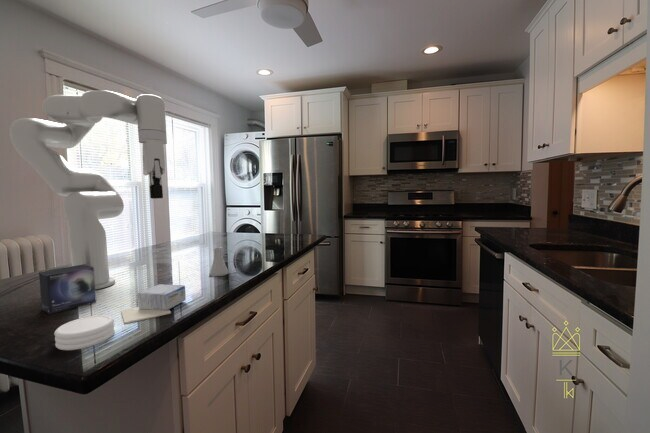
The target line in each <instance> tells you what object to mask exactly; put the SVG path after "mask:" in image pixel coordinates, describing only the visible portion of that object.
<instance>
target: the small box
mask: <svg viewBox="0 0 650 433" xmlns="http://www.w3.org/2000/svg"><path fill="white" fill-rule="evenodd" d="M38 276H39V290H40V305H41V307H40V309H41V310H42V311H43V312H45V313H47V314H49V315H52V314H56V313H60V312H64V311H68V310H71V309H75V308H79V307H82V306H87V305H90V304H94V303H96V302H97V299H96V290H95V282H94V267H91V266H88V265H85V264H83V265H77V266H72V265H71V266H66V267H61V268H55V269H49V270H43V271H39V272H38Z"/></svg>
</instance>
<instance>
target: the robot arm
mask: <svg viewBox="0 0 650 433" xmlns="http://www.w3.org/2000/svg"><path fill="white" fill-rule="evenodd" d="M41 106H42V110H43V112H44V113H45V115H46V116H47V117H48V118H50V119H52V120H53V121H50V120H44V119H40V118H34V117H33V118H32V117H31V118H30V117H26V118H23V117H22V118H19V119H15V120H14V121H12V123H11V126H10V127H9V137H10V141H11V143H12V145H13V148H14V149H15V151H16V152H17V153H18V155H20V157H21V158H23V160H25V161H26V162H27V163H28V164H29V165H30V166H31V167H32V168H33V169H34V170H35V171H36V173H37V174H38V175H39V176H40V178H41V179H42V180H43V181H44V182H45V183H46V185H47V186H48V187H49V188H50V189H51V190H52V191H53V192H54V193H55V194H56V195H58V196H61V197H65V198H63V201H62V210H63V213H64V214H63V215H64V217H65V220H66V222H67V227H68V233H69V234H68V235H69V243H70V244H69V245H70V255H71V256H70V257H71V266H77V265H83V264H85V265H88V266H91V267H94V282H95V291H96V290H99V289H103V288H108V287H110V286H113V285H114V284H115V283H116V279H115V278H113V277H110V270H109V268H110V267H109V257H108V243H107V234H106V230H105V228H104V226H103V224H102V223H101V222H100V220H103V219H105V220H106V219H111V218H117V217H118V216H120V215H122V213H123V211H124V208H125V207H124V206H125V205H124V200H123V198H122V196H121V195H120V194H119V192H118V191H117V190H116V188H114V187H113V186H112V185H111V183H110V182H109V181H108V180H107V179H106V178H105V177H104V176H103V175H102V174H101V173H100V172H98V171H96V170H94V169H88V168H77V167H74V166H72V165H71V164H70V163H69V162H68V161H67V160H66V159H65V158H64V157H63V156H62V155H61V154H60V153H58V152H57V151H55V150H54V149H52V148H57V149H66V150H67V149H72V148H74V147H76V146H77V145H78V144H80V143H81V141H82V140H83V139H84V138H85V136H86V135H87V134H88V133H89V132H90V131H91V130H92V129H93V127H94V126H96V124H97V123H99V122H101V121H102V119H103V118H109V119H113V120H117V121H120V122H125V123H129V124H131V125H137V131H138V134H137V135H138V143H139V144H142V174H143V176H144V177H145V176H148V177H149V195H150V199H152V200H153V199H155V200H156V199H163V197H164V194H163V191H164V190H163V185H162V184H163V183H162V175H164V174H165V173H166V169H165V166H166V164H165V148H164V145H167V144H168V142H167V141H168V140H167V139H168V138H167V124H166V123H167V122H166V121H167V120H166V110H165V109H166V106H165V101H164V99H163V98H162V97H160V96H158V95H155V94H147V93H146V94H139V95H138V96H137V97H136V98H133V97H129V96H128V95H124V94H122V93H119V92H115V91H112V90H86V91H85V92H84V93H82V94H55V95H50V96H47V97H46V98H45V99H44V100H43V101H42V105H41ZM54 121H56V122H54Z"/></svg>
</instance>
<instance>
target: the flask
mask: <svg viewBox="0 0 650 433" xmlns="http://www.w3.org/2000/svg"><path fill="white" fill-rule="evenodd" d="M222 250H223V247H214V248H213V251H214V252H213V253H214V256H213V260H212V264H211V268H210V271H209V275H208V276H209V277H223V276H226V275H229V274H230V273H229V269H228V268H227V265H226V262H225V259H224V257H223V253H222Z"/></svg>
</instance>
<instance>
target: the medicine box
mask: <svg viewBox="0 0 650 433" xmlns="http://www.w3.org/2000/svg"><path fill="white" fill-rule="evenodd" d="M186 299H187V298H186V286H185V285H184V284H167V283H166V284H162V283H158V284H157V285H154V286H151V287H149V288H147V289H145V290H142V291H139V292H138V293H137V301H138V303H137V304H138V307H139V309H151V310H170V309H172V308H174V307H175V306H177V305H180V304H181V303H184V302H185V301H186Z"/></svg>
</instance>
